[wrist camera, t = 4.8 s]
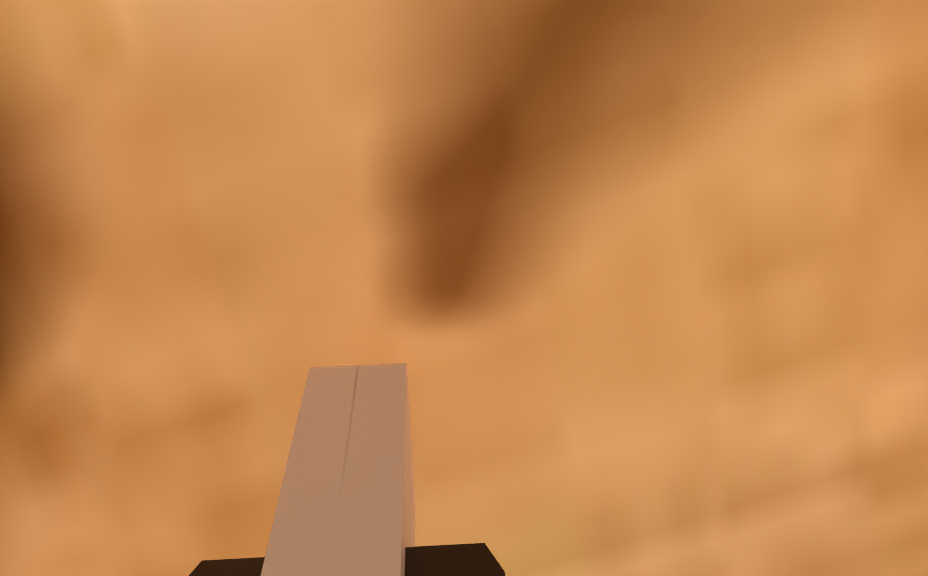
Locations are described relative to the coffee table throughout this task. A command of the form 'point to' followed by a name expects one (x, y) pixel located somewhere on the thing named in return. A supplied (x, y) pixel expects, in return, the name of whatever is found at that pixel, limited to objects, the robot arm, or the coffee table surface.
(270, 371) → the coffee table surface
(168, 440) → the coffee table surface
